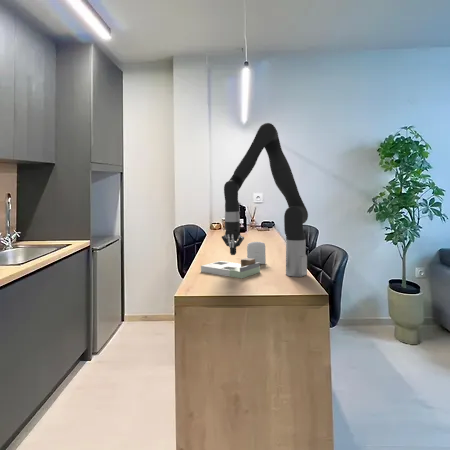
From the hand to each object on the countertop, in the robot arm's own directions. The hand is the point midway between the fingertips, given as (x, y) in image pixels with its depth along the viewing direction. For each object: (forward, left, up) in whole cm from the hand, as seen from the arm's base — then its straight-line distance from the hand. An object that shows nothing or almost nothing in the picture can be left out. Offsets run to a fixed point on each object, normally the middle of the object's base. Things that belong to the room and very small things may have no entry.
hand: (233, 254), depth 191 cm
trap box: (0, +3, -8) cm, 9 cm away
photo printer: (0, -22, -9) cm, 24 cm away
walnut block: (-9, 0, -5) cm, 10 cm away
